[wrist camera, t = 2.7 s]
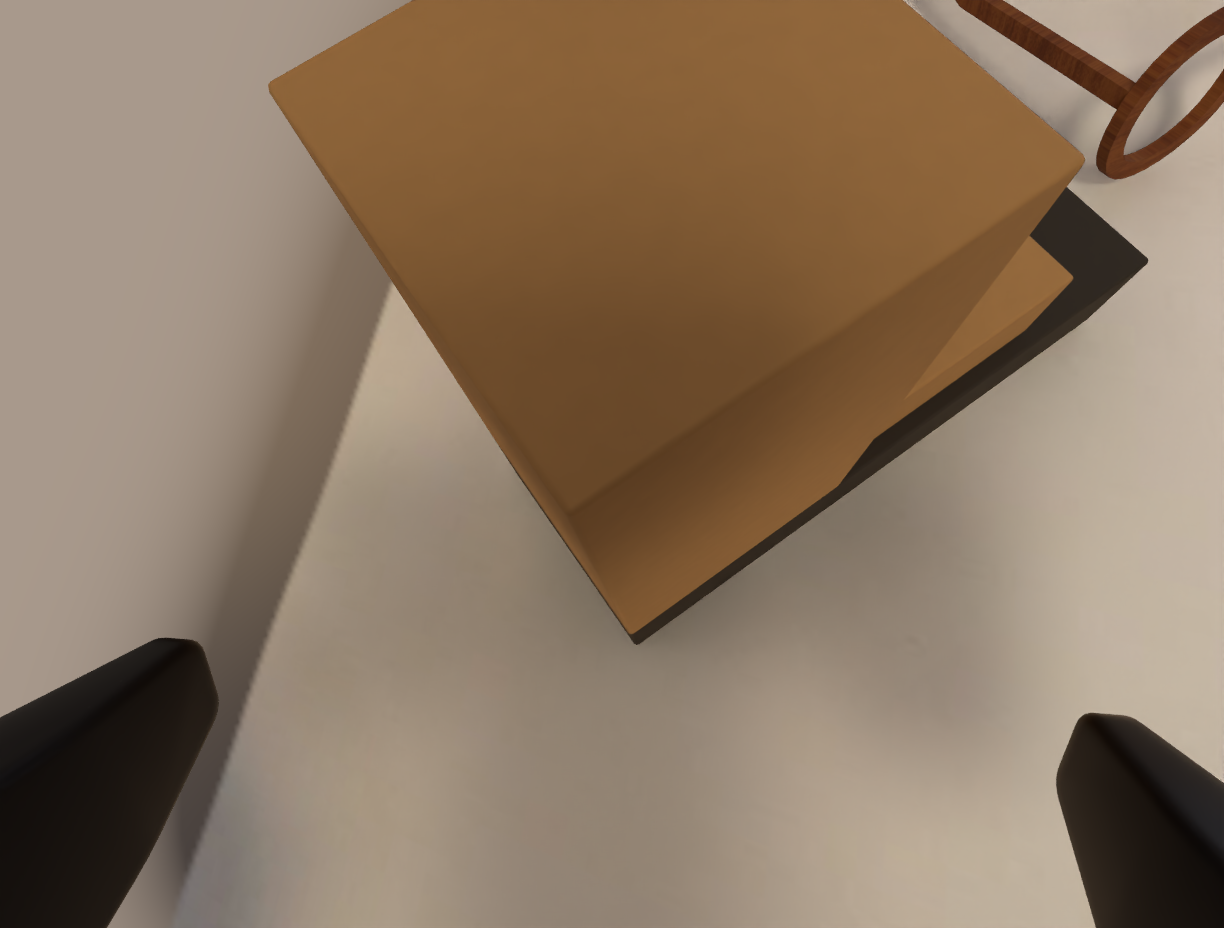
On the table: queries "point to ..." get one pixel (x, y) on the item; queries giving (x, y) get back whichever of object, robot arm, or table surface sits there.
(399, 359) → the table surface
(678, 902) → the table surface
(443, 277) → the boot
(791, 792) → the table surface
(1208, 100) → the glasses
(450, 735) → the table surface
